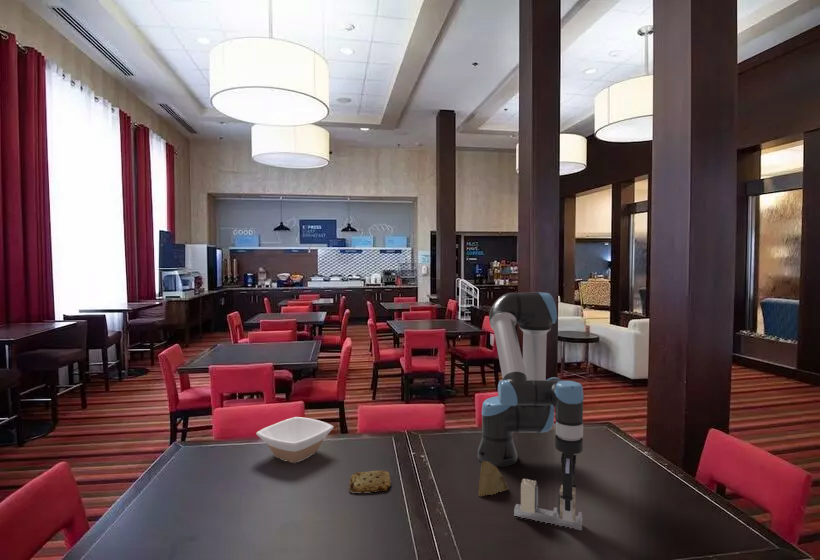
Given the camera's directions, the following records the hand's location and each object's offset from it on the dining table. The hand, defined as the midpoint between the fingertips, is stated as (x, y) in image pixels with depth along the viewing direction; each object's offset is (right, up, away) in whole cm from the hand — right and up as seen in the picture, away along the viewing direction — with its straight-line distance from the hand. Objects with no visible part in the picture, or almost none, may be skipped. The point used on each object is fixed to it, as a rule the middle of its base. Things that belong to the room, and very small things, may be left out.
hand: (568, 515), depth 133 cm
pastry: (-60, -3, +26) cm, 65 cm away
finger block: (0, 0, 0) cm, 0 cm away
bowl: (-91, -2, +50) cm, 104 cm away
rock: (-18, -2, +20) cm, 27 cm away
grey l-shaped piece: (-5, -3, +2) cm, 6 cm away
